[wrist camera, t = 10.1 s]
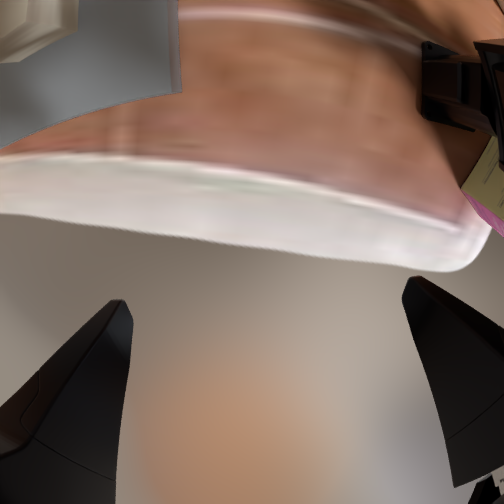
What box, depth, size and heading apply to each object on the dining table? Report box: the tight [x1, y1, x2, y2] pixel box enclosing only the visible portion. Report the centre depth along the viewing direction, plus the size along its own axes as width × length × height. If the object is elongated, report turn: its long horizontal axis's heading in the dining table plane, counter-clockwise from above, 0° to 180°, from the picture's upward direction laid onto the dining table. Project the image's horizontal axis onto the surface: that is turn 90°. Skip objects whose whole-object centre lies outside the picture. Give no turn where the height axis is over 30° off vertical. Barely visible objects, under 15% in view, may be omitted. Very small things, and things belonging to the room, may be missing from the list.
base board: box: [0, 0, 182, 149], centre depth 9 cm, size 16×16×3 cm
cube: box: [0, 0, 79, 63], centre depth 5 cm, size 5×5×5 cm
